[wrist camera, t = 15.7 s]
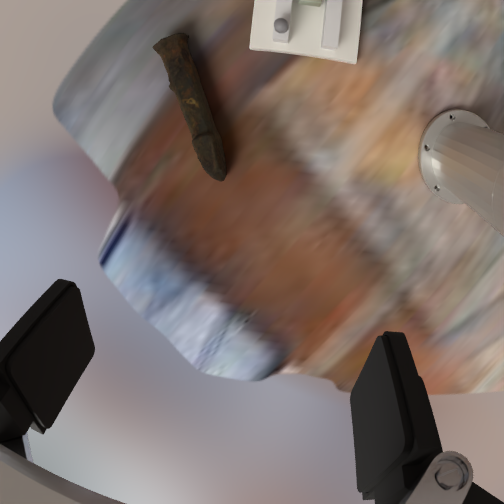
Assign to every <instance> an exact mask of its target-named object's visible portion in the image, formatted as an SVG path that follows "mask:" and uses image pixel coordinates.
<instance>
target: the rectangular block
mask: <svg viewBox="0 0 504 504" xmlns="http://www.w3.org/2000/svg"><path fill="white" fill-rule="evenodd" d="M321 2H322V0H299V3H298V4H301V5H309V6H316V7H320V5H321Z"/></svg>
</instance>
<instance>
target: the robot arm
mask: <svg viewBox="0 0 504 504" xmlns="http://www.w3.org/2000/svg"><path fill="white" fill-rule="evenodd" d="M450 115H451V118H450ZM425 145H426V148H424V146H425ZM418 161H419V168H420V172H421V175H422V177H423V180H424V182H425V183H426V185H427V186H428V188H429V189H430V190H431V191H432V192H433V193H434V194H435V195H436V196H437V197H439V198H440V199H442V200H444V201H446V202H448V203H452V204H464V203H465V204H466V205H467V206H469V207H470V208H471V209H472V210H474V211H475V212H476V213H477V214H478V215H479V216H481V217H482V218H483V219H484V220H485V221H486V222H488V223H489V224H490V225H491V226H492V227H493V228H494V229H496V230H497V231H498V232H499V233H500V234H501V235H502V236H504V134H502V133H499V132H496V131H493V130H491V129H490V127H489V126H488V125H487V123H486V122H485V121H484V120H483V119H482V118H480V117H479V116H478V115H476V114H474V113H472V112H469V111H465V110H459V109H455V110H448V111H445V112H443V113H441V114H439V115H438V116H436V117H435V118H434V119H433V120H432V121H431V122H430V123H429V124H428V126H427V127H426V129H425V130H424V132H423V135H422V137H421V140H420V144H419V151H418ZM435 186H436V187H435ZM434 187H435V188H434ZM94 352H95V346H94V342H93V339H92V335H91V332H90V328H89V325H88V321H87V317H86V313H85V309H84V305H83V301H82V297H81V292H80V289H79V288H77V286H76V284H75V283H74V282H71V281H67V280H63V279H58V280H57V281H55V282H54V284H52V285H51V287H50V288H49V289H48V290H47V291H46V292H45V293H44V294H43V295H42V296H41V297H40V298H39V299H38V300H37V301H36V302H35V303H34V304H33V305H32V306H31V307H30V309H29V310H28V311H27V312H26V313H25V314H24V315H23V316H22V317H21V318H20V320H19V321H18V322H17V323H16V324H15V325H14V327H12V329H11V330H10V331H9V332H8V333H7V334H6V336H5V337H4V338H3V339H2V340H1V341H0V504H125V503H122V502H120V501H117V500H114V499H111V498H108V497H106V496H103V495H101V494H98V493H96V492H93V491H91V490H88V489H86V488H84V487H81V486H79V485H77V484H74V483H72V482H70V481H68V480H66V479H64V478H61V477H59V476H57V475H55V474H53V473H51V472H49V471H47V470H45V469H43V468H41V467H39V466H38V465H36V464H34V463H33V458H32V454H31V449H30V444H29V440H28V434H27V431H28V429H29V427H31V428H32V429H33V430H35V431H37V432H39V433H41V434H44V433H45V431H46V429H48V428H50V427H51V426H52V425H53V423H54V421H55V419H56V418H57V416H58V414H59V412H60V411H61V409H62V407H63V406H64V404H65V402H66V400H67V399H68V397H69V395H70V394H71V392H72V390H73V388H74V387H75V385H76V383H77V382H78V380H79V378H80V377H81V375H82V373H83V372H84V370H85V368H86V367H87V365H88V364H89V362H90V360H91V359H92V357H93V355H94ZM350 404H351V413H352V423H353V434H354V447H355V460H356V476H357V489H358V491H359V492H362V495H363V500H372V499H375V504H504V503H503V502H502V501H500V500H499V499H497V498H496V497H494V496H493V495H491V494H490V493H488V492H487V491H485V490H484V489H482V488H481V487H479V486H478V485H477V484H475V483H474V482H472V480H473V469H472V466H471V464H470V462H469V461H468V459H467V458H466V457H464V456H463V455H462V454H460V453H458V452H454V451H446V452H443V451H442V447H441V442H440V438H439V434H438V430H437V427H436V423H435V419H434V416H433V412H432V408H431V405H430V402H429V399H428V395H427V391H426V388H425V385H424V382H423V380H422V378H421V377H420V376H419V375H418V372H417V369H416V366H415V363H414V360H413V357H412V354H411V351H410V348H409V345H408V342H407V339H406V337H405V335H404V333H402V332H389V331H386V332H384V333H383V335H382V336H378V337H377V339H376V341H375V343H374V345H373V347H372V350H371V352H370V354H369V356H368V358H367V361H366V363H365V365H364V367H363V369H362V371H361V373H360V375H359V377H358V379H357V381H356V383H355V385H354V387H353V389H352V392H351V396H350Z"/></svg>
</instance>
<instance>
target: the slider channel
mask: <svg viewBox="0 0 504 504" xmlns="http://www.w3.org/2000/svg"><path fill="white" fill-rule="evenodd" d="M362 1H363V0H322V2H321V5H320V7H316V6H309V5H301V4H298V3H299V0H255V2H254V11H253V20H252V28H251V38H250V47H249V48H250V49H251V50H259V51H270V52H280V53H288V54H296V55H303V56H310V57H317V58H323V59H329V60H334V61H339V62H345V63H349V64H356V62H357V53H358V44H359V35H360V24H361V13H362Z"/></svg>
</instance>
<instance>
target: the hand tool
mask: <svg viewBox="0 0 504 504" xmlns="http://www.w3.org/2000/svg"><path fill="white" fill-rule="evenodd" d="M188 38H189V36H188V35H186V34H184V33H178V34H174V35H171V36H169V37H166V38H163V39H161V40H160V41H159V42H158V43H156V44H155V45H154V46H153V49H154V50H155V51H156V52H157V53H158V54H159V55H160V56H161V58H162V60H163V63H164V65H165V68H166V70H167V73H168V77H169V82H170V85H169V87H170V89H171V90H172V91H174V92H175V94H176V97H177V99H178V102H179V105H180V107H181V110H182V112H183V115H184V117H185V120H186V122H187V125H188V127H189V130H190V132H191V135H192V138H193V140H192V144H193V146H194V150H195V151H196V153H197V155H198V159H199V161H200V162H201V165H202V167H203V168H204V170H205V171H206V172H207V173H208V174H209V175H210V176H211V177H212V178H213V179H216V180H218V181H221V182H222V181H224V179H225V177H226V162H225V154H224V151H223V145H222V140H221V136H220V135H219V133H218V132H217V130H216V127H215V124H214V120H213V117H212V114H211V111H210V108H209V105H208V102H207V98H206V96H205V94H204V91H203V88H202V85H201V82H200V79H199V75H198V72H197V68H196V67H195V65H194V61H193V60H192V57H191V54H190V52H189V48H188V45H187V40H188Z"/></svg>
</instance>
